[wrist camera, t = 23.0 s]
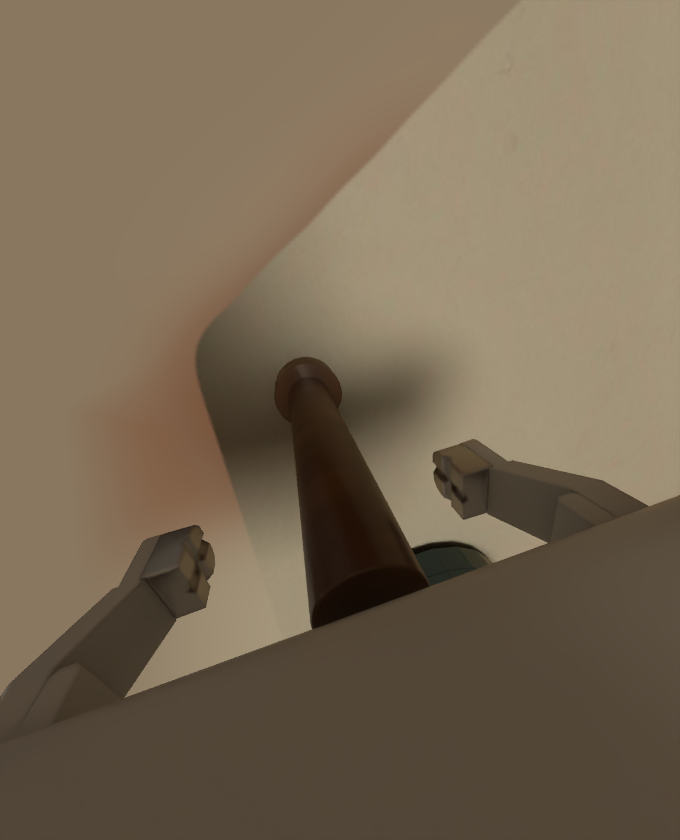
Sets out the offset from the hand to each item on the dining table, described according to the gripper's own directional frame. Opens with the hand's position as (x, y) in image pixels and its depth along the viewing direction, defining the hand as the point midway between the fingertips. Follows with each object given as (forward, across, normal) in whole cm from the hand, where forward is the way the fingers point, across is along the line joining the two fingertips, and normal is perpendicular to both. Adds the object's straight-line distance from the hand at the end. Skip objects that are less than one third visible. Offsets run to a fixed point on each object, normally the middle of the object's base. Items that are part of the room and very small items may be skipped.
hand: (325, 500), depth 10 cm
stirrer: (+12, -1, 0) cm, 12 cm away
